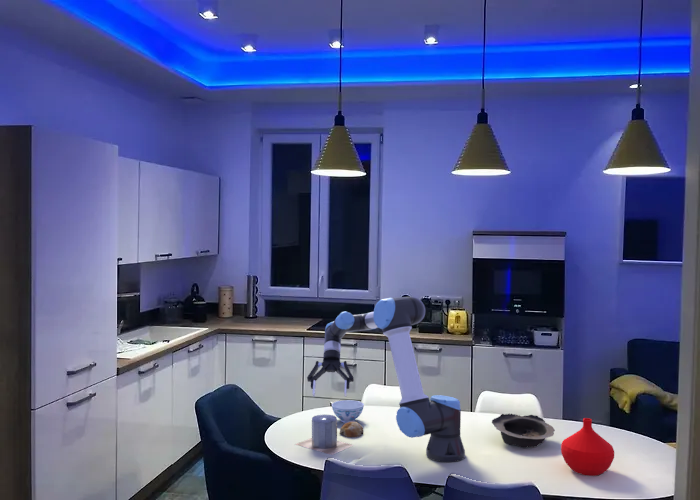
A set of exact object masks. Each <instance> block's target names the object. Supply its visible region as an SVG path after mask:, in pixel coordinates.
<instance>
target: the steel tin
mask: <svg viewBox="0 0 700 500" xmlns="http://www.w3.org/2000/svg"><path fill="white" fill-rule="evenodd" d="M337 418H338V417H337V416H336V415H333V414H317V415H314V416H313V417H312V418H311V419H312V420H311V438H312V446H313V447H315V448H318V449H329V448H333V447H336V445H337V441H338V419H337Z"/></svg>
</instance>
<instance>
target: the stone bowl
mask: <svg viewBox="0 0 700 500" xmlns="http://www.w3.org/2000/svg"><path fill="white" fill-rule="evenodd" d="M491 424H492V425H493V426H494V428H495V429H496V430H497V431H499V432H500V435H501V438H502V441H503V442H504V443H505V444H507V445H509V446H517V447H520V448H521V449H525V448H526V449H527V448H536V447H538V446H539V445H541V444H542V443H544V442H545V441H546V439H548V438H551V437H553V436H554V435H555V431H556V430H555V428H554V427H553V426H552V425H550V424H549V423H548V422H546V420H545V419H543V418H542V417H539V415H533V414H527V415H523V416H522V415H520V414H513V413H506V414H504V413H502V414H500V415H499V416H498V417H495V418H493V419H492V420H491Z"/></svg>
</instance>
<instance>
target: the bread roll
mask: <svg viewBox="0 0 700 500" xmlns="http://www.w3.org/2000/svg"><path fill="white" fill-rule="evenodd" d="M364 433H365V431H364V428H363V426H362V425H361V424H360V423H359V422H357V421H354V422H348V423H344V424H343V425H342V426H341V427H340V428H339V433H338V434H339V435H341V436H342V437H345V438H357V437H358V438H359V437H361V436H362V435H364Z"/></svg>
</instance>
